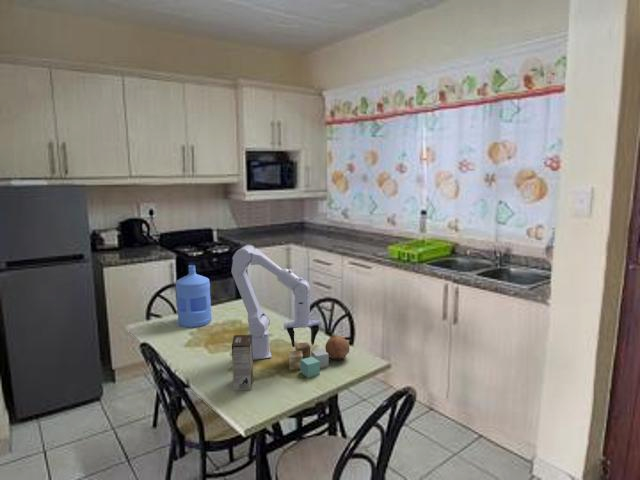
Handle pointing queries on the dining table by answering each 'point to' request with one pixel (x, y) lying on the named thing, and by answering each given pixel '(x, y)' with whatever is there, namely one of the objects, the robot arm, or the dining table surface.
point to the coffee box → (242, 362)
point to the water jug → (193, 299)
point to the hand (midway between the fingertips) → (302, 344)
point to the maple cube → (295, 359)
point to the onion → (337, 347)
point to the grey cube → (321, 357)
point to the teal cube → (310, 367)
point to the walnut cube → (303, 349)
